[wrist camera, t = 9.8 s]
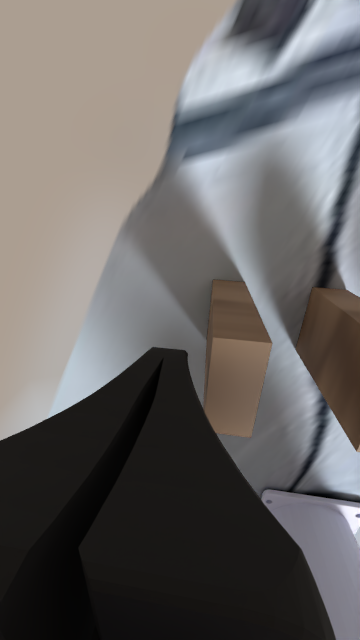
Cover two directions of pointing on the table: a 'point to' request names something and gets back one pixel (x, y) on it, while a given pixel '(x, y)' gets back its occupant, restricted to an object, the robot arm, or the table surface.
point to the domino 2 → (334, 353)
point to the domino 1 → (234, 359)
